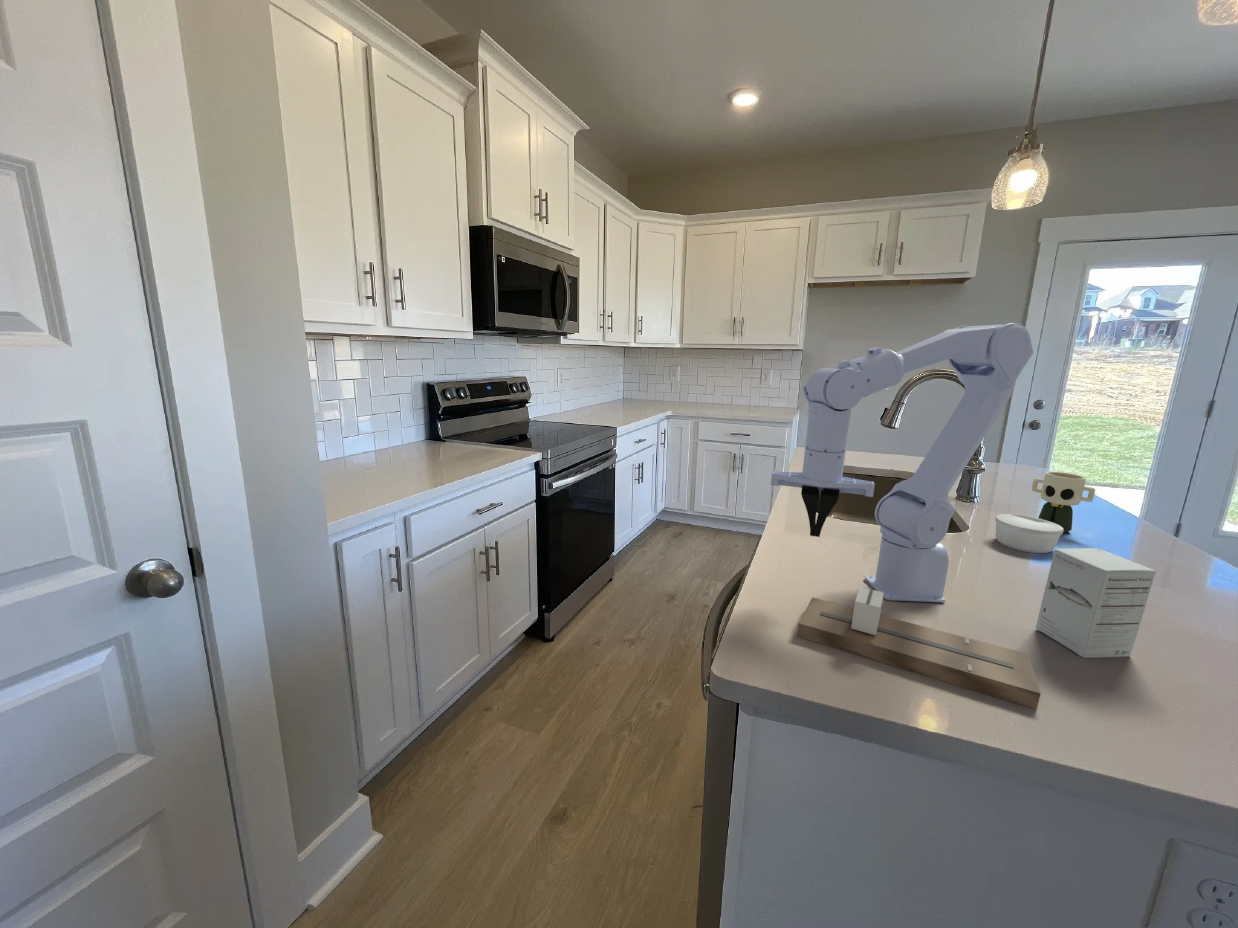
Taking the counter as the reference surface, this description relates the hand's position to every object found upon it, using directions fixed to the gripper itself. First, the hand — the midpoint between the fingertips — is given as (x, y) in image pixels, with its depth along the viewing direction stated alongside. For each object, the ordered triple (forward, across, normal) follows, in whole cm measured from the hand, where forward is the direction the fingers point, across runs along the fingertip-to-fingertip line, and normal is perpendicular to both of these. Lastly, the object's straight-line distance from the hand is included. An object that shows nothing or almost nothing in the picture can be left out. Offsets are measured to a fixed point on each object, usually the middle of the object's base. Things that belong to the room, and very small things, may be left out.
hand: (814, 534), depth 79 cm
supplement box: (+11, -36, -1) cm, 37 cm away
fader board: (+10, -12, +12) cm, 20 cm away
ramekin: (+11, -42, -44) cm, 62 cm away
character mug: (+11, -52, -59) cm, 79 cm away
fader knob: (+8, -7, +10) cm, 15 cm away
